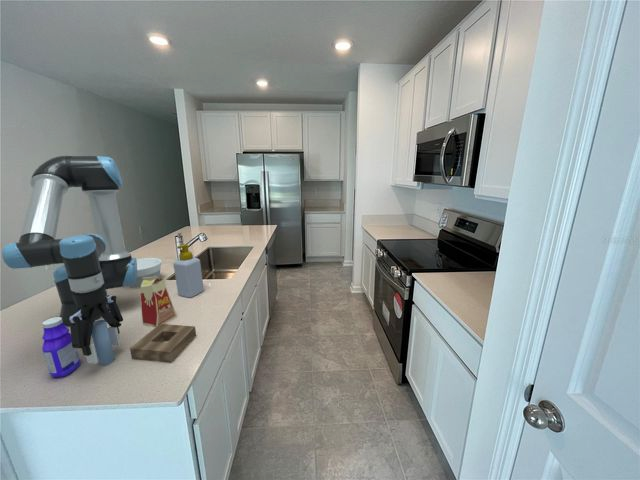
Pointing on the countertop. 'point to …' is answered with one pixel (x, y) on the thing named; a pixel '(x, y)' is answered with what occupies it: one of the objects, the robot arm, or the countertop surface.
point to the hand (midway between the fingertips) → (105, 352)
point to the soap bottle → (188, 273)
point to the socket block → (157, 349)
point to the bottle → (59, 348)
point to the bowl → (146, 270)
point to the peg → (102, 343)
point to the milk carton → (156, 302)
